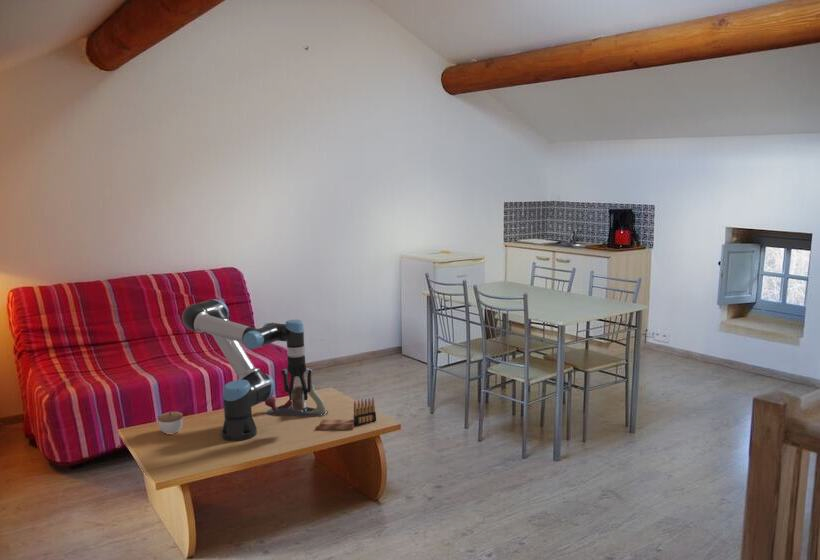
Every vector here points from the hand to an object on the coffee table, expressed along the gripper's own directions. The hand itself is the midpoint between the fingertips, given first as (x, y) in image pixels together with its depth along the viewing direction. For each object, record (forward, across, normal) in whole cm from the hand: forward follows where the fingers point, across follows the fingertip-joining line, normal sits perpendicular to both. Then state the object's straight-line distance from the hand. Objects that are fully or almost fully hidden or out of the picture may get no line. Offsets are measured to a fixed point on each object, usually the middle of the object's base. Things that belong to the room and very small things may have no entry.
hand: (299, 407), depth 313 cm
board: (+12, +15, +6) cm, 20 cm away
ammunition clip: (+12, +27, +12) cm, 32 cm away
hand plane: (+12, -8, +26) cm, 29 cm away
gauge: (0, 0, +2) cm, 2 cm away
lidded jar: (+12, -59, 0) cm, 60 cm away
